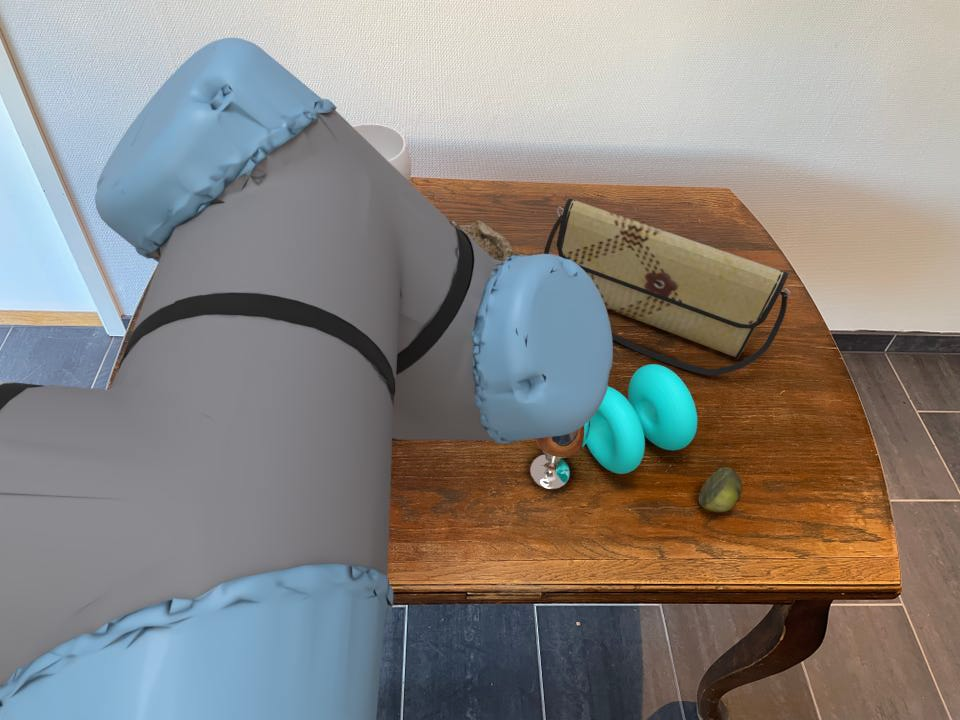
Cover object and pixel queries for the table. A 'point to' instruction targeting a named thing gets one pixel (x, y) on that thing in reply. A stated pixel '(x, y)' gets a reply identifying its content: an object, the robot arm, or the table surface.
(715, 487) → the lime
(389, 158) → the cup
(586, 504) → the table surface
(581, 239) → the clutch purse
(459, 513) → the table surface
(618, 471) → the turquoise yo-yo
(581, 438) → the wineglass
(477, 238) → the seashell
